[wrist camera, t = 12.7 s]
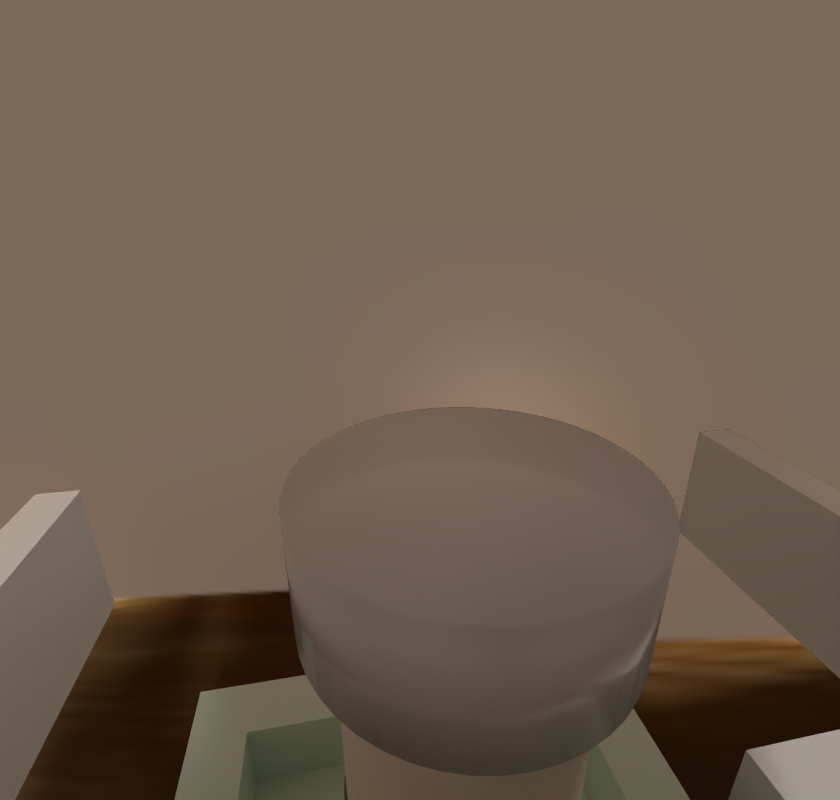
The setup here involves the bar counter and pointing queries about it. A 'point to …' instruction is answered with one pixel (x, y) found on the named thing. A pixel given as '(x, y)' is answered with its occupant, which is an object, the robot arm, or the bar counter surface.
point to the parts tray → (324, 760)
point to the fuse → (474, 598)
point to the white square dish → (791, 770)
